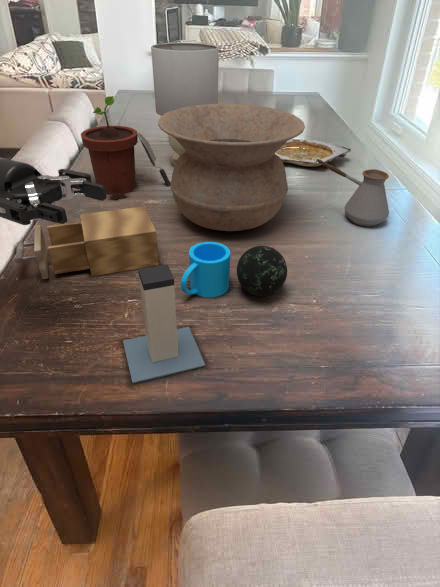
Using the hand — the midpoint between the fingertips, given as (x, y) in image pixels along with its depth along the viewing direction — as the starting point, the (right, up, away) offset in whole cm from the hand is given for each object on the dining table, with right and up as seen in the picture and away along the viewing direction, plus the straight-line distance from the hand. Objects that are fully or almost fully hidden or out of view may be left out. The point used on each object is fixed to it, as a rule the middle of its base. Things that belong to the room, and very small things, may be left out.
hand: (85, 204), depth 59 cm
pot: (+21, +8, +52) cm, 57 cm away
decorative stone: (+27, -12, +26) cm, 40 cm away
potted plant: (-10, +19, +67) cm, 71 cm away
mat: (+9, -23, +11) cm, 27 cm away
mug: (+16, -12, +26) cm, 33 cm away
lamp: (+8, +32, +85) cm, 91 cm away
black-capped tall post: (+9, -23, +11) cm, 27 cm away
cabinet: (-3, -4, +36) cm, 36 cm away
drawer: (-15, -6, +32) cm, 36 cm away
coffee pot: (+54, +8, +54) cm, 77 cm away
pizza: (+49, +36, +91) cm, 109 cm away
